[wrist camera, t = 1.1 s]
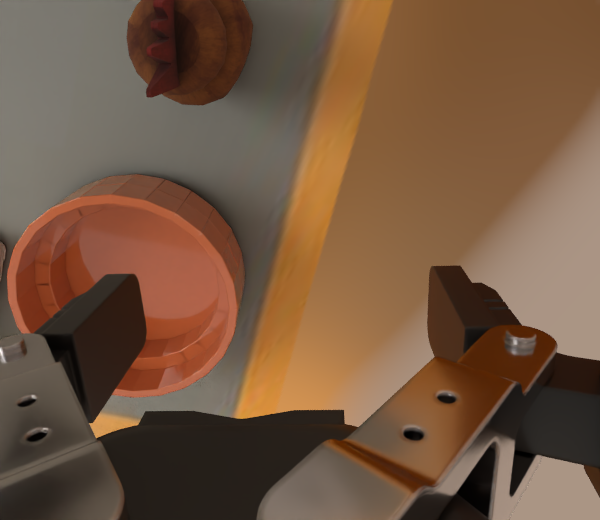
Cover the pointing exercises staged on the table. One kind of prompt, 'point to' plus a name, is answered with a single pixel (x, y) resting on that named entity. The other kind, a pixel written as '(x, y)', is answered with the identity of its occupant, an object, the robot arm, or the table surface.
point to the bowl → (138, 272)
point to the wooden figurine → (189, 47)
